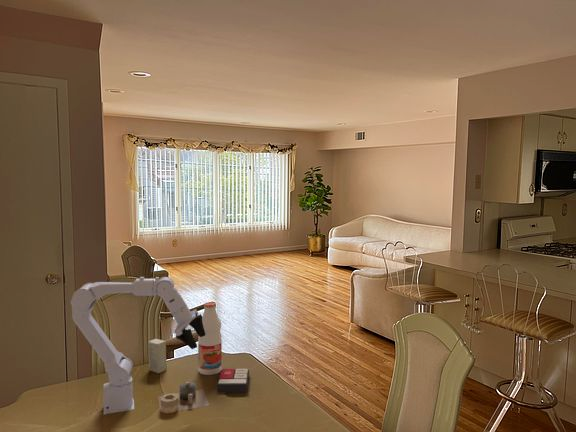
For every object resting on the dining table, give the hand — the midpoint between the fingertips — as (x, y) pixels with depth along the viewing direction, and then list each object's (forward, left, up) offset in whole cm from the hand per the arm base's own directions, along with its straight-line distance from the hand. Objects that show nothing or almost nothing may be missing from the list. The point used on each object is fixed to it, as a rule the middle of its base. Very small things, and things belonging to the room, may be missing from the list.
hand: (199, 341), depth 150 cm
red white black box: (+15, +9, -22) cm, 28 cm away
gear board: (-5, +1, -21) cm, 22 cm away
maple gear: (-10, -3, -21) cm, 23 cm away
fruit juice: (+9, +24, -22) cm, 33 cm away
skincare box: (-11, +32, -22) cm, 40 cm away
